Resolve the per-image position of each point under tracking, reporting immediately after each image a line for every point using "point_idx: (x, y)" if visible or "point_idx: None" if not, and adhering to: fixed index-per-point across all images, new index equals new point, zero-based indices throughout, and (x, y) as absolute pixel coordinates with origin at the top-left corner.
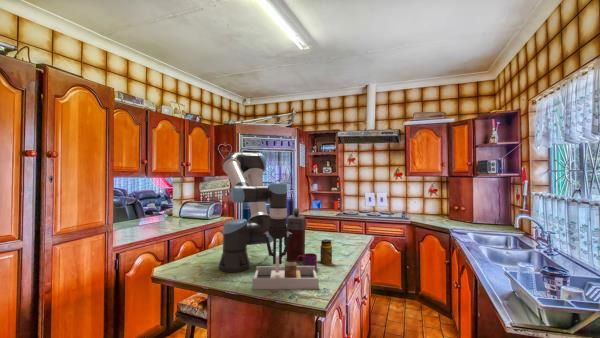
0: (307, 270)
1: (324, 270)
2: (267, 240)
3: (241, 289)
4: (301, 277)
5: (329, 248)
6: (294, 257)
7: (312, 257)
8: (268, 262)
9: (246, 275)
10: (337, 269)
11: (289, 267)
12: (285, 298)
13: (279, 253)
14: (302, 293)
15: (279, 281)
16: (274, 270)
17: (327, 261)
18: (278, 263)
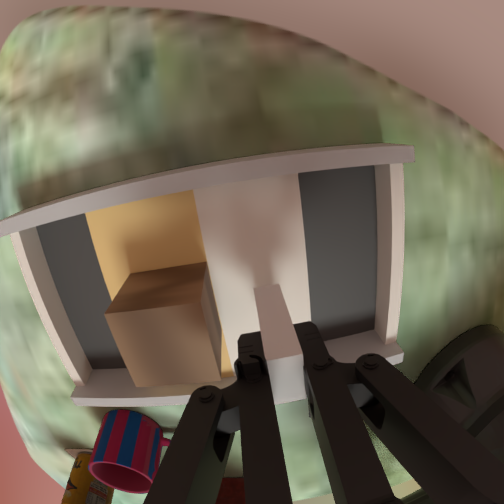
0: (109, 383)
1: (70, 411)
2: (478, 471)
3: (430, 140)
4: None
5: (64, 501)
6: (223, 490)
7: (97, 458)
8: None
9: (424, 317)
10: (35, 414)
11: (160, 299)
12: (168, 42)
13: (267, 394)
14: (83, 125)
15: (224, 163)
16: None
17: (82, 461)
18: (264, 324)
